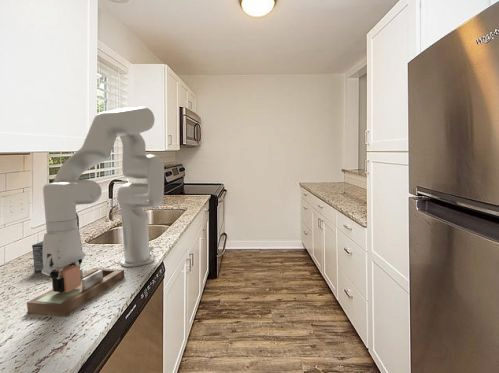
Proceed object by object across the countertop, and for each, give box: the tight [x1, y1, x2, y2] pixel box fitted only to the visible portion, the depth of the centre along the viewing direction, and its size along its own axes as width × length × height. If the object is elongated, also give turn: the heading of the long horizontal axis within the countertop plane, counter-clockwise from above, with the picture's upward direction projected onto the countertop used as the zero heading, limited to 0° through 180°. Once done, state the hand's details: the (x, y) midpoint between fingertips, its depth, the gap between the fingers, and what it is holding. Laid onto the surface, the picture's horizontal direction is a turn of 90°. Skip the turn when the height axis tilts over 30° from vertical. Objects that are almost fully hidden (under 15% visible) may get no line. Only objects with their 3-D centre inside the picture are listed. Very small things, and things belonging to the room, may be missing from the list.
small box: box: [31, 240, 51, 273], centre depth 117 cm, size 11×6×10 cm, turn 92°
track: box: [26, 267, 125, 317], centre depth 95 cm, size 26×12×6 cm, turn 168°
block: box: [51, 265, 81, 292], centre depth 89 cm, size 5×5×6 cm
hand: (67, 286), depth 89 cm, fingers closed on block, 5 cm apart
